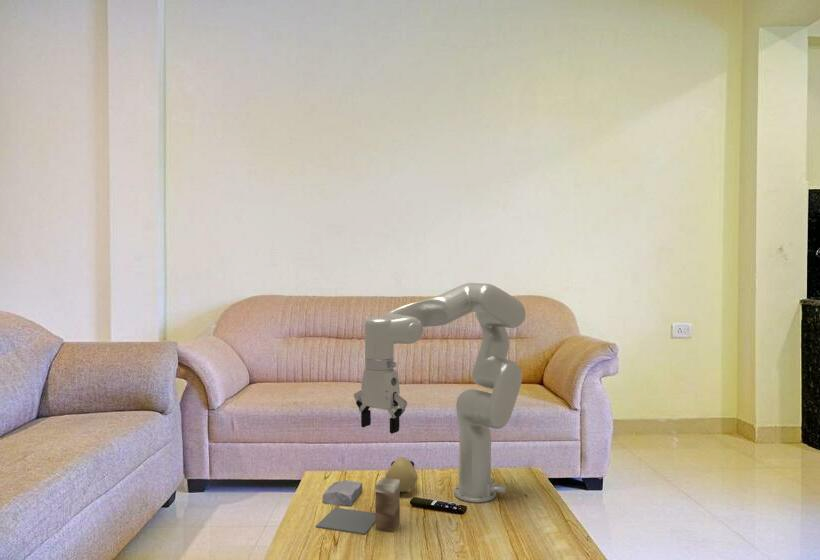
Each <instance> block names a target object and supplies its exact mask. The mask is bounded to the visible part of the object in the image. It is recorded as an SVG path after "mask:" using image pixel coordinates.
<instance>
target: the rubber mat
mask: <svg viewBox="0 0 820 560" xmlns="http://www.w3.org/2000/svg"><path fill="white" fill-rule="evenodd" d="M374 524H375V512H370V511H363V510H356V509H348V508H341V507H334V508H333V509H332V510H330V511H329V512H328V513H327V514H326V516H324V517H323V518H322V519H321V520H320V521H319V522H318V523H316V525H315V528H318V529H326V530H332V531H339V532H345V533H352V534H355V535H356V534H357V535H364V536H365V535H367V534H368V532H369V531H370V530H371V528H372V527H373V526H374Z"/></svg>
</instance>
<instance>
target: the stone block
mask: <svg viewBox="0 0 820 560" xmlns="http://www.w3.org/2000/svg"><path fill="white" fill-rule="evenodd" d="M362 492H363V483H362V481H361V482H358V481H354V480H349V479H347V480H340V481H339V480H338V481H334V482H333V483H331V485H329V486H328V487H327V489H326V490H325V491H324V492H323V494H322V500H323V503H324V504H325V505H329V504H330V505H329V506H340V507H341V506H344V507H346V506H347V507H352V504H353V505H354V503H355V502H356V501H357V499H358V498H359V497H360V496H361V494H362ZM355 500H356V501H355Z"/></svg>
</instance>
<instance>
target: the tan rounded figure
mask: <svg viewBox="0 0 820 560" xmlns="http://www.w3.org/2000/svg"><path fill="white" fill-rule="evenodd" d="M384 478H390V479H398V480H400V493H402V492H407V493H411V492H412V491H413V489H414V487H415V486H416V483H417V482H418V473H417V471H416V468H415V462H414V461H412V460H409V459H407V458H405V457H404V456H399V457H398V458H397V459H395V460H393V461H391V463H390V467H389V468H388V470H387V472H386V474H385V476H384Z"/></svg>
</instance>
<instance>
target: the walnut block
mask: <svg viewBox="0 0 820 560" xmlns="http://www.w3.org/2000/svg"><path fill="white" fill-rule="evenodd" d="M374 487H375V489H374V491H375V497H374V498H375V500H374V501H375V502H374V503H375V509H374V510H375V512H374V513H375V526H374V527H375V529H374V530H375V531H379V532H380V531H381V532H388V533H394V532H396V530H397V528H398V527H399V525H400V520H401V519H400V513H401V512H400V511H401V509H400V505H401V503H400V500H401V499H400V494H401V492H400V480H398V479H390V478H385V477H381V478H380V479H379V480H378V481H377V482H376V483H375V485H374Z"/></svg>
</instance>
